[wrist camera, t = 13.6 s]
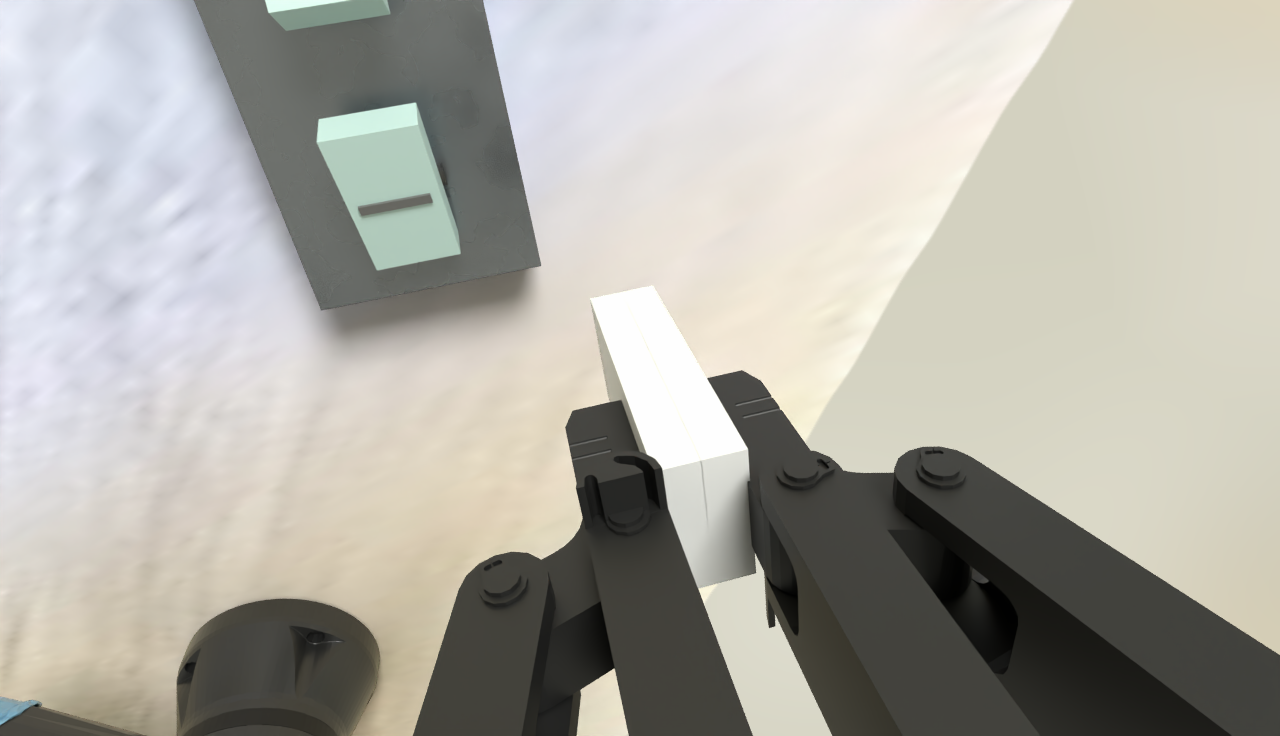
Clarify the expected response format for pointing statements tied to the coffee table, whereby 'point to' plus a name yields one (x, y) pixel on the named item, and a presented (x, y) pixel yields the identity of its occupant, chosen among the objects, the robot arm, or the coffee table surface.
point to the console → (367, 80)
